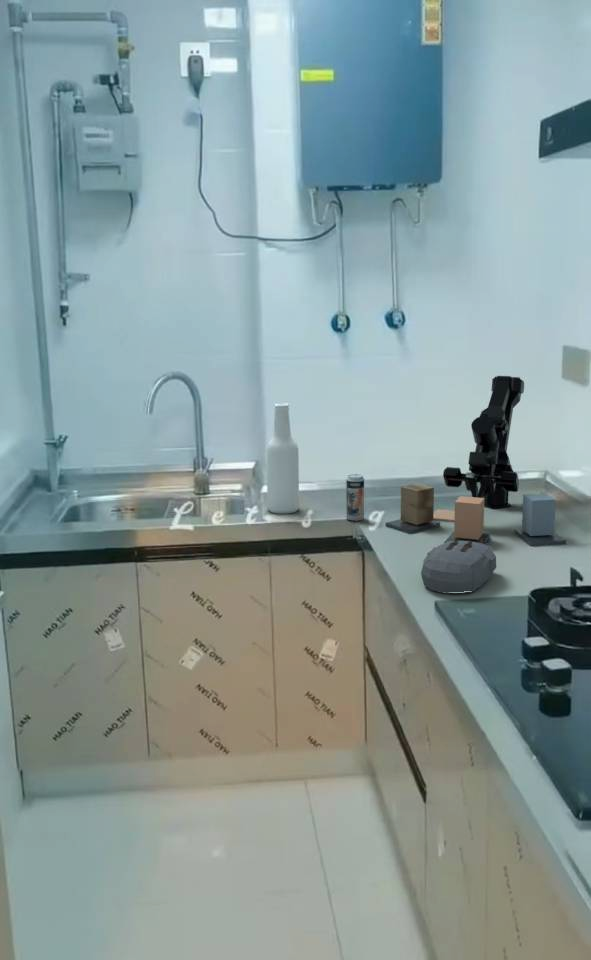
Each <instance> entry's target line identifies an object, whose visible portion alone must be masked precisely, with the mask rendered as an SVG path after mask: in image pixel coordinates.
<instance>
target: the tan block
mask: <svg viewBox="0 0 591 960" xmlns="http://www.w3.org/2000/svg"><path fill="white" fill-rule="evenodd" d="M454 511H455V519H454V522H453V524H454V527H453V528H454V529H453V531H454V537H456V538H466V539H476V540H479V538H480V537H481V535H482V534H483V533H484V524H485V523H484V522H485V521H484V520H485V505H484V498H477V497H472V496H463V495H460V496H458V498H457V499H456V500H455V501H454Z"/></svg>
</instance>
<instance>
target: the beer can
mask: <svg viewBox="0 0 591 960" xmlns="http://www.w3.org/2000/svg"><path fill="white" fill-rule="evenodd" d="M345 481H346V483H345V485H346V497H345V498H346V500H345V501H346V516H345V517H346V519H347V520H349V521H350V520H351V521H350V522H359V520H360V521H362V520H364V519H365V478H364V476H363V475H362V474H358V473H356V474H348V476H347V478H346V479H345Z"/></svg>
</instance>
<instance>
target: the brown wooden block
mask: <svg viewBox="0 0 591 960" xmlns="http://www.w3.org/2000/svg"><path fill="white" fill-rule="evenodd" d="M434 497H435V487H434V486H429V485H426V484H421V483H417V482H416V483H413V484H408V485H404V486H401V487H400V519H401V520H402V521H405V522H409V523H412V524H415V525H419V524H423V523H427V522H431V521H433V514H434V513H435V510H434V509H435V508H434V504H435V501H434V499H435V498H434Z"/></svg>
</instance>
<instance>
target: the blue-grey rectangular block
mask: <svg viewBox="0 0 591 960" xmlns="http://www.w3.org/2000/svg"><path fill="white" fill-rule="evenodd" d="M522 497H523V498H522V518H521V529H522V530H523V531H525V532H526V533H527V534H529V535H530V536H540V535H554V532H555V525H556V523H555V522H556V504H557V499H556V498H554V497H552V496H551V495H549V494H548V493H532V494H531V493H529V494H523V495H522Z"/></svg>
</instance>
